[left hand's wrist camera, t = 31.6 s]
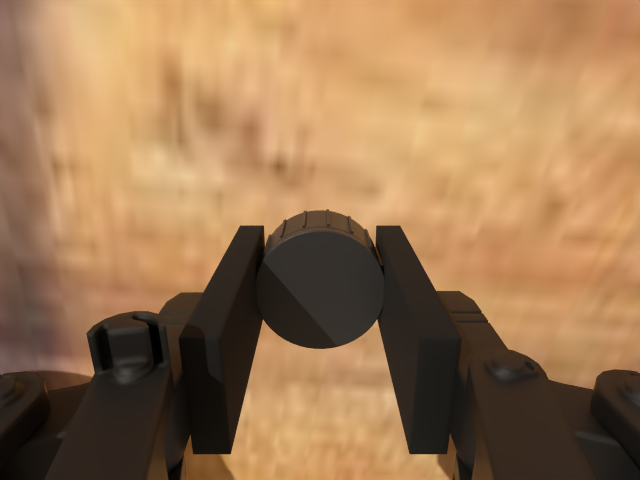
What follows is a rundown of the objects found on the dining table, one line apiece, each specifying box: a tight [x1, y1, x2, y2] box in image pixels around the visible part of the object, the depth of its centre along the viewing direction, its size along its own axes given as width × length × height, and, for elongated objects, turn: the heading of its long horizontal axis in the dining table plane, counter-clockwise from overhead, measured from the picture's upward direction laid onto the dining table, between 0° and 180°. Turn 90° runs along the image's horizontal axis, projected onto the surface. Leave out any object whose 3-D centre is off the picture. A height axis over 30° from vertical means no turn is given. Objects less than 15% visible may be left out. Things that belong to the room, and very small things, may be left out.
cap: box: [256, 209, 385, 349], centre depth 13 cm, size 4×4×2 cm
